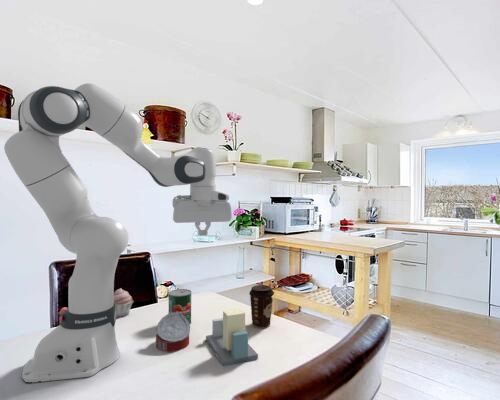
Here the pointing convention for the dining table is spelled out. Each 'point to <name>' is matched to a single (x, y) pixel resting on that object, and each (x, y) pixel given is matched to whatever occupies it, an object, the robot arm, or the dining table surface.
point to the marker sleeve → (232, 324)
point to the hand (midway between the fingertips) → (202, 235)
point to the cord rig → (238, 345)
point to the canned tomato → (180, 302)
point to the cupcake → (122, 302)
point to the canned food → (172, 332)
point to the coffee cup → (261, 305)
